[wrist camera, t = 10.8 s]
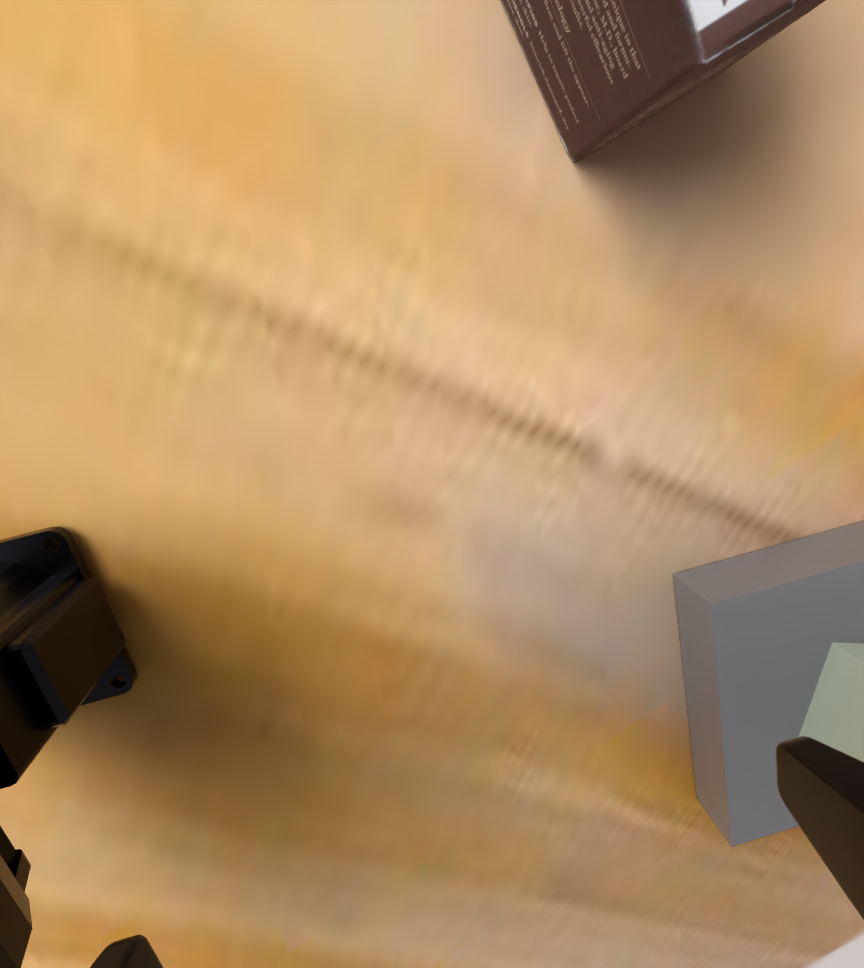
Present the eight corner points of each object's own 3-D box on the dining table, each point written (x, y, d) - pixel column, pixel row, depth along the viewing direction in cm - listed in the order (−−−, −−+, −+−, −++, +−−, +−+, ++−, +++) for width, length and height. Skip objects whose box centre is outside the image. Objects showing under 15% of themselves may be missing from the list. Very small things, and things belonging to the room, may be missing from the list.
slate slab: (696, 798, 26) (731, 846, 23) (672, 573, 22) (711, 604, 20) (930, 727, 26) (987, 767, 24) (944, 497, 23) (1013, 518, 20)
